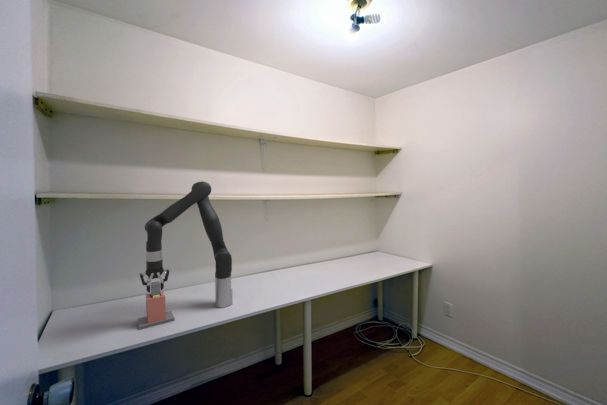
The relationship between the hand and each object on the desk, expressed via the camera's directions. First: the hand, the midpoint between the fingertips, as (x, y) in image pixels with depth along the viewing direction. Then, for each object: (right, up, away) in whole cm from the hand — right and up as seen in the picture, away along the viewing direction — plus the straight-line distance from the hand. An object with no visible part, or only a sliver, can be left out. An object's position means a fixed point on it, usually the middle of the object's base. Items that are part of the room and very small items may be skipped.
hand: (155, 290), depth 142 cm
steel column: (0, -14, +1) cm, 14 cm away
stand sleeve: (0, -16, +1) cm, 16 cm away
